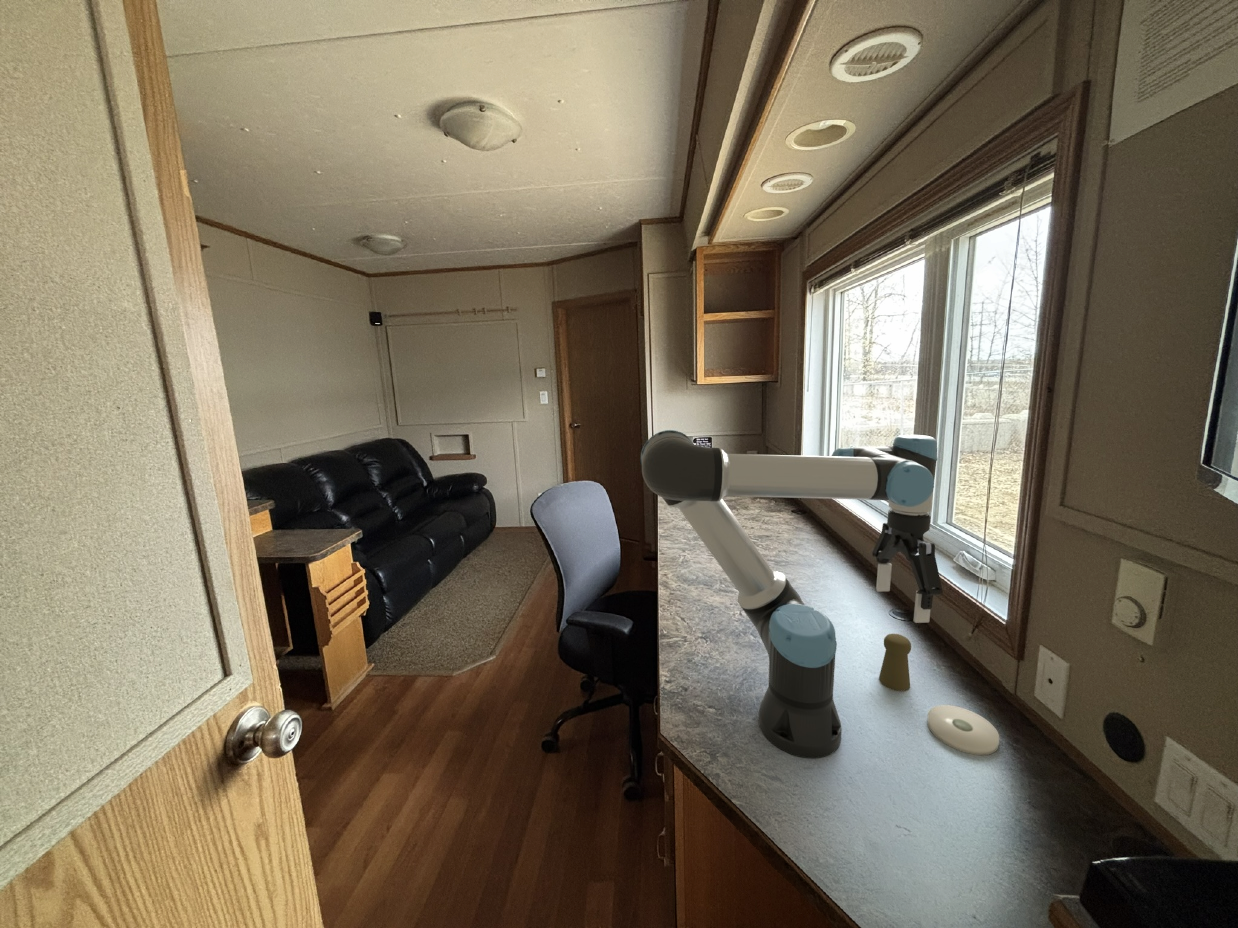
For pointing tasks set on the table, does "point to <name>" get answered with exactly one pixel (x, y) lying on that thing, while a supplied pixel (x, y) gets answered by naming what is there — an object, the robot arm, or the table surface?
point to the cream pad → (963, 730)
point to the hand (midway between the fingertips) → (900, 605)
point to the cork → (896, 663)
